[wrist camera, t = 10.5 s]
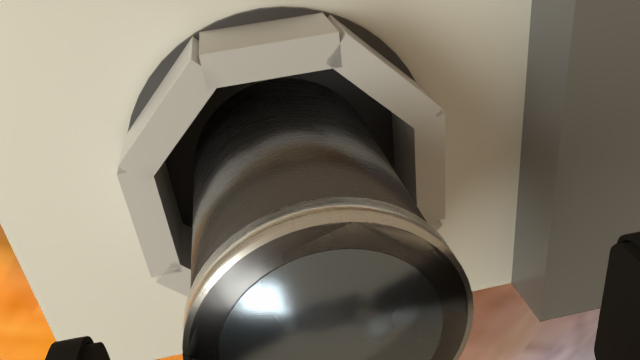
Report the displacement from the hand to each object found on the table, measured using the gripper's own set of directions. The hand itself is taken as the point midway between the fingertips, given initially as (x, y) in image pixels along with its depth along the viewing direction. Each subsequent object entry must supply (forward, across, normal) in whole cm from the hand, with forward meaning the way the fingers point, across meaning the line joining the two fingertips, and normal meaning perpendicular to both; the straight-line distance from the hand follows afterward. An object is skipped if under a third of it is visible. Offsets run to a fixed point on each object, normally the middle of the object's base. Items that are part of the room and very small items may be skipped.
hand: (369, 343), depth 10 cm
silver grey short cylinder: (+7, +1, -1) cm, 7 cm away
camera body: (+13, -1, -1) cm, 13 cm away
